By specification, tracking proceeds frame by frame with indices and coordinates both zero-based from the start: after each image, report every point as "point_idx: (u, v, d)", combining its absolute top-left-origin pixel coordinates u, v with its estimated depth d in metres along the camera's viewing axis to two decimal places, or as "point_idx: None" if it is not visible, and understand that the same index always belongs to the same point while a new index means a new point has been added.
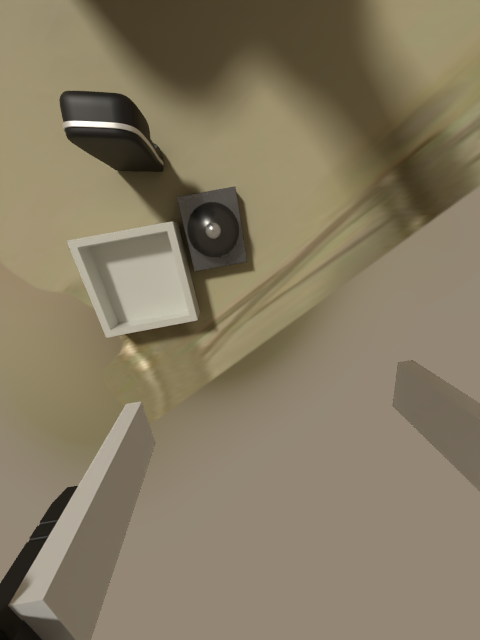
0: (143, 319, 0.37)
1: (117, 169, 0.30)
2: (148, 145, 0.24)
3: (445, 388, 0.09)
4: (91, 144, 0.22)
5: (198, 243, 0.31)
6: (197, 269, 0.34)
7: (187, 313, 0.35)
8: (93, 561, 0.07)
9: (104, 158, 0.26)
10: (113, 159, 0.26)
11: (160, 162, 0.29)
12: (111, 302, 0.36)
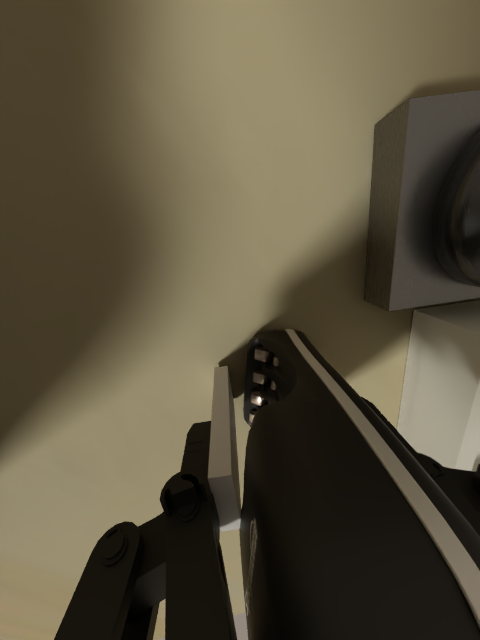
0: None
1: None
2: (374, 430, 0.06)
3: None
4: None
5: None
6: None
7: None
8: (235, 468, 0.09)
9: None
10: None
11: (301, 342, 0.11)
12: None
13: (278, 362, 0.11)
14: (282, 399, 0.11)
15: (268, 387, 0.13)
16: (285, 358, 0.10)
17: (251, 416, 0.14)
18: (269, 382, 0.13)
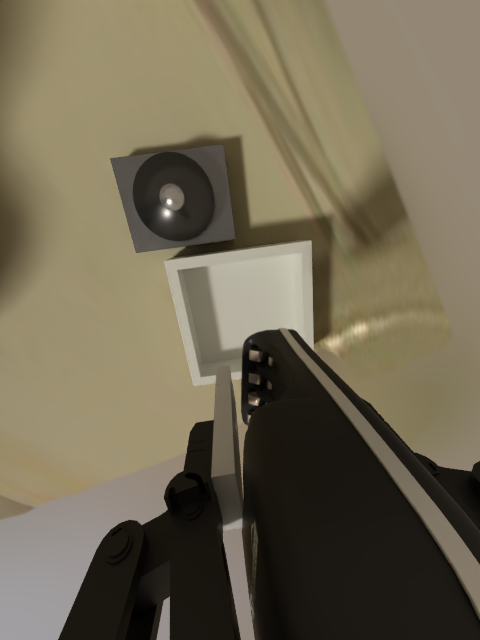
0: (296, 319, 0.27)
1: None
2: (369, 425, 0.06)
3: None
4: None
5: (193, 226, 0.21)
6: (233, 234, 0.23)
7: (297, 257, 0.23)
8: (238, 467, 0.09)
9: None
10: None
11: (295, 340, 0.11)
12: None
13: (273, 361, 0.11)
14: (278, 398, 0.11)
15: (264, 387, 0.13)
16: (279, 357, 0.10)
17: (249, 417, 0.13)
18: (265, 382, 0.13)
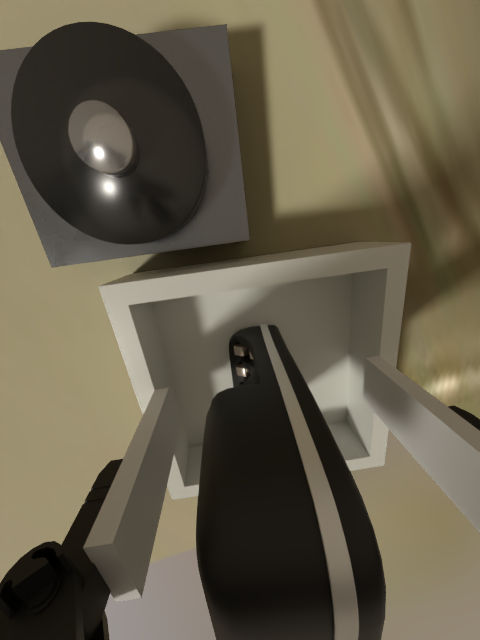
0: (351, 379, 0.16)
1: None
2: (298, 403, 0.07)
3: (402, 380, 0.10)
4: None
5: (160, 211, 0.10)
6: (245, 230, 0.11)
7: (369, 274, 0.12)
8: (142, 521, 0.07)
9: None
10: None
11: (270, 335, 0.12)
12: None
13: (252, 355, 0.13)
14: None
15: None
16: (253, 351, 0.11)
17: None
18: None
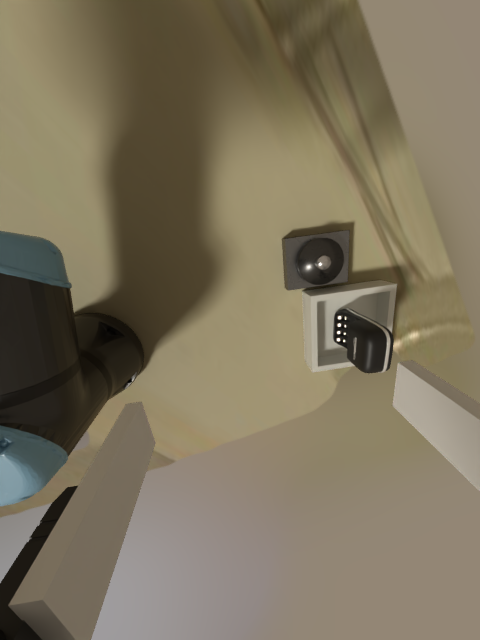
0: None
1: None
2: (373, 321, 0.33)
3: (445, 388, 0.09)
4: None
5: (329, 276, 0.36)
6: (346, 278, 0.37)
7: (384, 292, 0.38)
8: (93, 561, 0.07)
9: None
10: None
11: (352, 311, 0.38)
12: None
13: (346, 318, 0.39)
14: None
15: (342, 327, 0.40)
16: (349, 315, 0.38)
17: (337, 339, 0.41)
18: (342, 326, 0.40)
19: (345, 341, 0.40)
